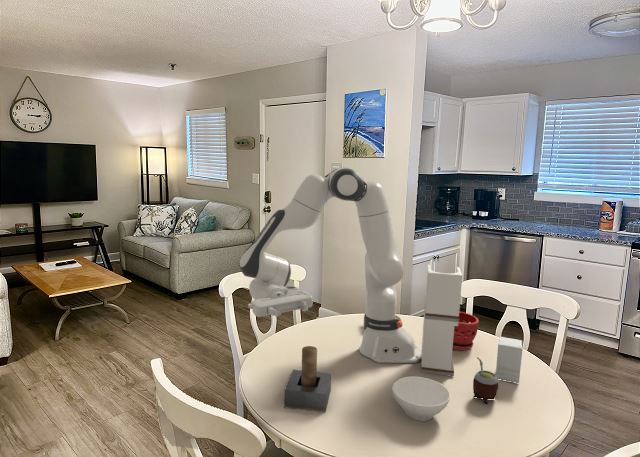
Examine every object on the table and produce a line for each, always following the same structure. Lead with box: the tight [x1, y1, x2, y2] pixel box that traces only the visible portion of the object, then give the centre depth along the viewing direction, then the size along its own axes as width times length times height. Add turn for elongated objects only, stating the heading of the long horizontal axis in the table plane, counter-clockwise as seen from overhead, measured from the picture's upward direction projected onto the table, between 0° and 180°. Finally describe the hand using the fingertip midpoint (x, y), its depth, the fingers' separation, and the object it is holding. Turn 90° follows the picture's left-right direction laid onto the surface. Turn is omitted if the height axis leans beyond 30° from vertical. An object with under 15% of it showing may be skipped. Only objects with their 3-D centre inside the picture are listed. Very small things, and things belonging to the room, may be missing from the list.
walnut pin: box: [301, 345, 318, 387], centre depth 128 cm, size 4×4×15 cm
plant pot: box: [452, 311, 480, 351], centre depth 169 cm, size 13×13×12 cm
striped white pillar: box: [420, 264, 463, 377], centre depth 149 cm, size 11×11×35 cm
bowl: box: [391, 376, 451, 422], centre depth 123 cm, size 16×16×7 cm
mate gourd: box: [472, 356, 499, 405], centre depth 130 cm, size 8×8×15 cm
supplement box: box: [495, 336, 523, 384], centre depth 144 cm, size 7×7×13 cm
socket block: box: [283, 369, 332, 413], centre depth 128 cm, size 12×12×6 cm
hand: (292, 311), depth 135 cm, fingers open, 8 cm apart
